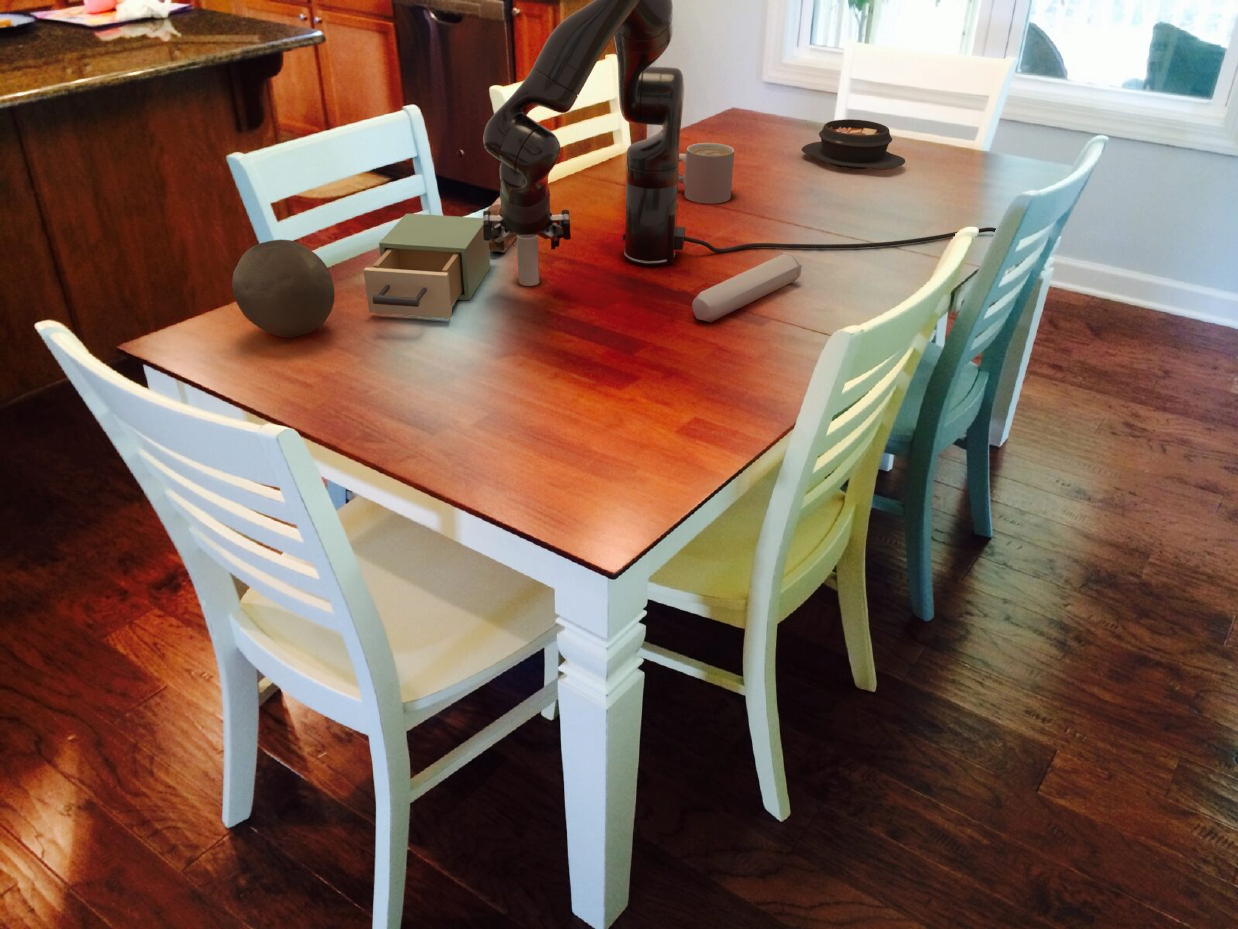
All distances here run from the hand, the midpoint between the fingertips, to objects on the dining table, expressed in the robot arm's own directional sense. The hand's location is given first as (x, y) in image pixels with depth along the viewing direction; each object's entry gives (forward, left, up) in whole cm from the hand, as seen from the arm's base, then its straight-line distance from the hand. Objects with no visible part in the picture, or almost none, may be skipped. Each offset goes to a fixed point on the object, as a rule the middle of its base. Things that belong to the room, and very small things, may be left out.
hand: (527, 244), depth 167 cm
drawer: (+16, +13, -6) cm, 22 cm away
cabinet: (+16, +1, -7) cm, 17 cm away
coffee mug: (-26, -54, -8) cm, 61 cm away
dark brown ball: (+32, +26, -8) cm, 42 cm away
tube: (-37, +1, -8) cm, 38 cm away
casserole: (-60, -84, -8) cm, 104 cm away
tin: (+9, -18, -8) cm, 22 cm away
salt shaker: (0, -1, -7) cm, 8 cm away
